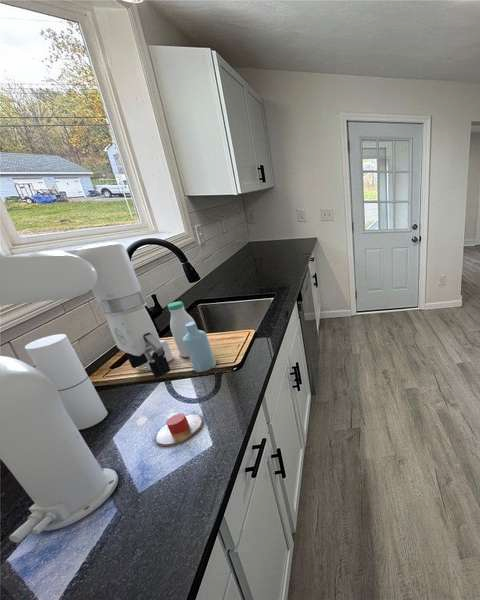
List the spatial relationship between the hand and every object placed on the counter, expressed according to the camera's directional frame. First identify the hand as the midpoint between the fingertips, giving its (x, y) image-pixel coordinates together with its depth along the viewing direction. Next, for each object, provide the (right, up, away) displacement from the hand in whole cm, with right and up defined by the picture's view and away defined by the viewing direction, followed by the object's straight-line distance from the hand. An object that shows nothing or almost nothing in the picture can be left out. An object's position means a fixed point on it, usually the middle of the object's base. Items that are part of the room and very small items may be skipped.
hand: (151, 369), depth 73 cm
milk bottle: (-20, -4, +44) cm, 49 cm away
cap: (+1, -17, +7) cm, 18 cm away
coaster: (+1, -17, +8) cm, 19 cm away
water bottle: (-9, -7, +35) cm, 37 cm away
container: (-29, -7, +38) cm, 48 cm away
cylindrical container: (-27, -17, +13) cm, 35 cm away
